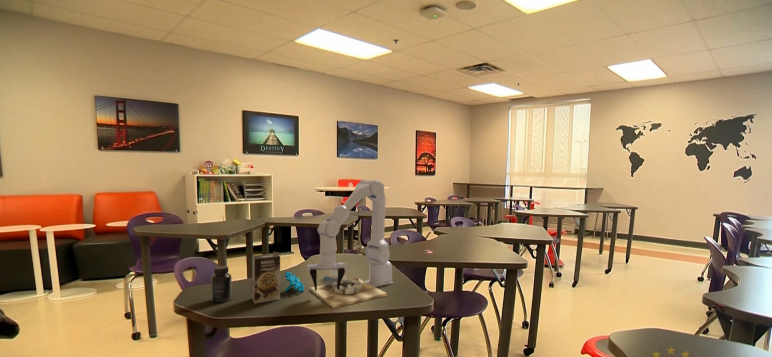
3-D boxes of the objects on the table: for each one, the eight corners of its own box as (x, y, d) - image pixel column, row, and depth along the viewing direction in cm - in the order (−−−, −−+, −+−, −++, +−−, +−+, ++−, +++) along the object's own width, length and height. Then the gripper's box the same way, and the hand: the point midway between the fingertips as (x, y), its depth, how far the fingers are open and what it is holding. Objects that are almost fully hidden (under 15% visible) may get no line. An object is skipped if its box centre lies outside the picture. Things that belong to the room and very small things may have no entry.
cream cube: (332, 281, 148) (332, 267, 148) (329, 277, 154) (329, 263, 154) (345, 279, 150) (345, 265, 150) (342, 275, 156) (342, 262, 156)
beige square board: (358, 280, 148) (358, 270, 148) (386, 295, 130) (386, 283, 130) (309, 290, 136) (309, 278, 136) (333, 308, 118) (333, 295, 118)
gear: (301, 291, 130) (283, 272, 131) (290, 303, 129) (272, 283, 130) (309, 286, 140) (292, 268, 142) (298, 296, 140) (282, 278, 141)
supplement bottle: (235, 298, 127) (235, 265, 127) (221, 304, 121) (221, 270, 121) (221, 295, 130) (221, 264, 130) (206, 302, 123) (206, 269, 123)
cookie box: (254, 304, 121) (254, 258, 121) (252, 298, 127) (252, 255, 127) (280, 299, 126) (280, 256, 125) (277, 294, 131) (277, 252, 131)
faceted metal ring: (366, 287, 135) (366, 278, 135) (350, 296, 126) (350, 286, 126) (334, 281, 143) (334, 272, 143) (316, 288, 134) (316, 279, 134)
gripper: (346, 250, 134) (345, 285, 133) (308, 251, 131) (307, 286, 130) (347, 254, 127) (347, 290, 126) (307, 254, 124) (306, 292, 124)
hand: (327, 289), depth 128 cm, fingers open, 7 cm apart
